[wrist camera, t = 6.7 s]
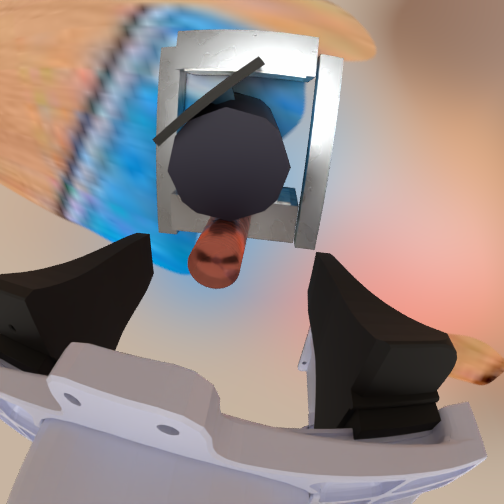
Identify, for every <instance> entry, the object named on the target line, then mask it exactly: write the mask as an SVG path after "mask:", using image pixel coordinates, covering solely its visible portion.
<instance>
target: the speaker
mask: <svg viewBox="0 0 504 504" xmlns="http://www.w3.org/2000/svg"><path fill="white" fill-rule="evenodd" d="M263 65H265V63H264V62H263V60H262V59H261V58H260V57H259V56H258V57H257V58H255V59H254V60H252V61H251V62H249V63H248V64H246V65H245V66H243V67H242V68H240V69H239V70H238V71H236V72H235V73H233V74H232V75H230V76H229V77H228V78H226V79H225V80H224V81H222V82H221V83H220V84H218V85H217V86H216V87H214V88H213V89H212V90H210V91H209V92H208V93H206V94H205V95H204V96H203V97H201V98H200V99H199V100H198V101H196V102H195V103H194V104H193V105H191V106H190V107H189V108H188V109H187V110H185V111H184V112H183V113H182V114H181V115H179V116H178V117H177V118H176V119H175V120H174V121H172V122H171V123H170V124H169V125H168V126H167V127H166V128H165V129H163V130H162V131H161V132H160V133H159V134H158V135H157V136H156V137H155V138H154V139H153V141H154V142H155V143H156V144H157V145H158V146H160V145H161V144H162V143H163V142H164V141H165V140H167V139H168V138H169V137H170V136H171V135H172V134H173V133H175V132H176V131H177V130H178V129H179V128H180V127H182V126H183V125H184V124H185V123H186V122H187V123H186V124H185V125H184V126H183V127H182V128H181V130H180V131H179V132H178V133H177V134H176V135H175V138H174V143H173V147H172V151H171V156H170V161H169V166H168V170H167V171H168V173H169V175H170V177H171V179H172V182H173V184H174V186H175V188H176V190H177V192H178V194H179V196H180V198H181V200H182V202H183V203H184V204H186V205H187V206H188V207H189V208H191V209H192V210H193V211H195V212H196V213H199V214H203V215H207V216H211V217H215V218H219V219H223V220H227V221H234V220H237V219H240V218H244V217H247V216H250V215H254V214H257V213H260V212H264V211H265V210H266V209H268V208H269V207H270V206H271V205H272V204H273V203H274V202H276V201H277V200H278V198H279V195H280V193H281V190H282V188H283V185H284V183H285V180H286V178H287V175H288V172H289V170H290V168H291V167H290V164H289V160H288V157H287V153H286V150H285V147H284V144H283V141H282V137H281V134H280V131H279V129H278V127H277V124H276V122H275V119H274V117H273V115H272V112H271V110H270V108H269V107H268V106H267V105H266V104H265V103H264V102H262V101H261V100H260V99H257V98H253V97H250V96H246V95H243V94H239V93H233V88H232V87H233V86H234V85H236V84H237V83H238V82H240V81H241V80H243V79H244V78H246V77H247V76H248V75H250V74H251V73H253V72H254V71H256V70H257V69H259V68H260V67H262V66H263Z"/></svg>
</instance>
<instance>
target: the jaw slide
mask: <svg viewBox="0 0 504 504" xmlns="http://www.w3.org/2000/svg"><path fill="white" fill-rule="evenodd" d="M298 207H299V206H298V202H297V196H296V191H295V188H288V187H283V188H282V190H281V193H280V195H279V198H278V200H277V201H276V202H274V203H273V204H272V205H271V206H270V207H269V208H268V209H266V210H265V211H264V212H260V213H257V214H254V215H250V216H247V217H244V218H240V219H237V220H234V221H227V220H223V219H219V218H215V217H211V216H207V215H203V214H199V213H196V212H195V211H193V210H192V209H191V208H189V207H188V206H187V205H186V204H184V203H183V202H182V200H181V198H180V196H179V194H178V192H177V190H175V191H173V192H172V193H171V225H172V230H179V231H189V232H198V233H201V235H200V237H199V239H198V240H197V242H196V244H195V246H194V248H193V250H192V251H191V253H190V255H189V258H188V268H189V271H190V273H191V275H192V277H193V278H194V279H195V280H196V281H197V282H198V283H200V284H202V285H204V286H206V287H209V288H215V289H218V288H219V289H220V288H225V287H228V286H230V285H231V284H233V283H234V282H235V281H236V279H237V278H238V275H239V272H240V267H241V263H242V258H243V254H244V249H245V245H246V240H247V238H253V239H262V240H271V241H279V242H288V243H293V238H294V232H295V226H296V220H297V213H298Z"/></svg>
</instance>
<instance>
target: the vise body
mask: <svg viewBox="0 0 504 504" xmlns="http://www.w3.org/2000/svg"><path fill="white" fill-rule="evenodd" d="M318 44H319V38H318V37H312V36H305V35H298V34H290V33H281V32H270V31H255V30H191V31H178V37H177V47H164V48H161V58H160V69H159V84H158V102H157V134H156V136H157V135H158V134H159V133H160V132H161V131H162V130H163V129H165V128H166V127H167V126H168V125H169V124H170V123H171V122H172V121H174V120H175V119H176V118H177V117H178V116H179V115H181V114H182V113H183V112H184V103H185V88H186V74H187V73H189V74H193V75H232V74H233V73H235V72H236V71H238V70H239V69H240V68H242V67H243V66H245V65H246V64H248V63H249V62H251V61H252V60H254V59H255V58H257V57H258V56H259V57H260V58H261V59H262V60H263V62H264V63H265V65H263V66H262V67H260V68H259V69H257V70H256V71H254V72H253V73H251V74H250V75H248V76H250V77H263V78H274V79H283V80H292V81H299V82H309V81H310V80H312V79H313V78H314V77H315V74H316V80H315V90H314V100H313V107H312V116H311V124H310V132H309V140H308V147H307V155H306V163H305V170H304V177H303V183H302V191H301V197H300V204H299V210H298V216H297V223H296V229H295V235H294V244H295V248H304V249H312V250H314V249H315V244H316V240H317V235H318V230H319V225H320V220H321V214H322V209H323V203H324V198H325V192H326V187H327V181H328V175H329V169H330V162H331V156H332V149H333V143H334V135H335V129H336V121H337V114H338V106H339V97H340V89H341V80H342V70H343V60H344V58H339V57H334V56H329V55H324V54H320V56H319V57H318V60H317V55H318ZM316 65H317V70H316ZM182 127H183V126H182ZM182 127H180V128H179V129H178V130H177V131H176V132H175V133H173V134H172V135H171V136H170V137H169V138H168V139H167V140H165V141H164V142H163V143H162V144H161V145H160V146H158V145H157V144H156V174H157V207H158V227H159V232H160V233H169V234H177V233H178V232H179V230H172V225H171V193H172V192H173V191H175V190H176V188H175V186H174V184H173V182H172V179H171V177H170V175H169V173H168V171H167V170H168V166H169V161H170V156H171V151H172V147H173V143H174V138H175V135H176V134H177V133H178V132H179V131H180V130H181V128H182Z"/></svg>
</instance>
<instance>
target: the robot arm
mask: <svg viewBox="0 0 504 504" xmlns="http://www.w3.org/2000/svg"><path fill="white" fill-rule="evenodd" d="M153 274H154V271H153V263H152V253H151V243H150V234H143V233H136V234H132V235H130V236H127V237H125V238H123V239H120V240H118V241H116V242H114V243H112V244H110V245H108V246H105V247H103V248H101V249H99V250H97V251H94V252H92V253H90V254H87V255H85V256H83V257H80V258H77V259H75V260H72V261H69V262H66V263H63V264H59V265H55V266H52V267H48V268H44V269H39V270H34V271H28V272H21V273H10V274H1V275H0V419H1V420H2V421H4V422H5V423H6V424H8V425H9V426H10V427H11V428H13V429H14V430H16V431H17V432H18V433H20V434H21V435H23V436H24V437H25V438H27V439H28V440H30V441H32V444H31V447H30V449H29V451H28V453H27V455H26V457H25V459H24V462H23V464H22V466H21V469H20V471H19V473H18V475H17V478H16V480H15V483H14V485H13V488H12V490H11V493H10V495H9V498H8V501H7V503H6V504H412V503H413V502H414V501H415V500H416V499H417V498H418V497H419V496H420V495H421V494H422V493H424V492H428V491H431V490H434V489H437V488H440V487H443V486H446V485H447V484H449V483H451V482H452V481H454V480H456V479H457V478H459V477H460V476H462V475H464V474H465V473H466V472H468V471H470V470H471V469H473V468H474V467H476V466H477V465H478V464H480V463H481V462H483V461H484V460H485V459H486V458H487V454H486V450H485V447H484V444H483V441H482V438H481V435H480V432H479V429H478V426H477V423H476V420H475V418H474V415H473V412H472V409H471V407H470V404H469V402H463V403H459V404H453V405H448V406H445V407H443V408H441V409H439V410H438V409H437V406H436V403H435V402H438V401H439V395H438V392H437V389H438V388H439V387H440V386H441V384H442V383H443V382H444V381H445V379H446V378H447V377H448V375H449V374H450V373H451V371H452V369H453V368H454V366H455V363H456V360H457V352H456V350H455V348H454V346H453V344H452V342H451V340H450V338H449V336H448V334H447V333H444V332H442V331H439V330H436V329H434V328H431V327H429V326H426V325H424V324H422V323H419V322H417V321H415V320H413V319H411V318H409V317H407V316H406V315H404V314H402V313H400V312H399V311H397V310H395V309H394V308H392V307H390V306H389V305H387V304H386V303H384V302H383V301H382V300H380V299H379V298H378V297H376V296H375V295H374V294H372V293H371V292H370V291H369V290H367V289H366V288H365V287H364V286H363V285H362V284H361V283H360V282H359V281H357V280H356V279H355V278H354V277H353V276H352V275H351V274H350V273H349V272H348V271H347V270H346V269H345V268H344V267H343V265H342V264H341V263H340V262H339V261H338V260H337V259H336V258H335V257H334V256H333V255H331V254H330V253H321V252H316V256H315V261H314V266H313V270H312V275H311V279H310V284H309V288H308V314H309V320H310V327H309V331H308V334H307V338H306V341H305V344H304V348H303V351H302V354H301V357H300V361H299V364H298V370H300V371H307V388H308V409H309V414H308V418H309V425H308V426H304V427H302V428H301V429H299V428H298V429H297V428H278V427H271V426H266V425H263V424H258V423H255V422H251V421H247V420H244V419H240V418H237V417H233V416H230V415H226V414H223V413H221V411H220V397H219V395H218V393H217V391H216V389H215V387H214V385H213V384H212V383H211V382H209V381H208V380H206V379H205V378H204V377H202V376H201V375H199V374H198V373H197V372H195V371H192V370H190V369H187V368H184V367H181V366H178V365H175V364H170V363H165V362H160V361H156V360H151V359H147V358H142V357H138V356H134V355H130V354H126V353H122V352H118V351H115V349H116V347H117V345H118V342H119V340H120V337H121V335H122V332H123V330H124V329H125V327H126V325H127V323H128V321H129V320H130V318H131V316H132V314H133V313H134V311H135V310H136V308H137V306H138V305H139V303H140V301H141V299H142V298H143V296H144V294H145V293H146V291H147V289H148V286H149V284H150V281H151V279H152V277H153Z"/></svg>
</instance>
